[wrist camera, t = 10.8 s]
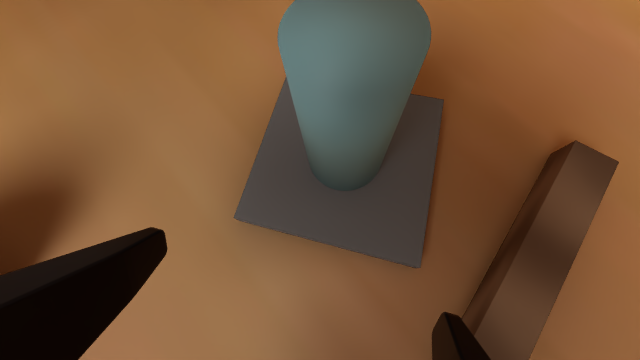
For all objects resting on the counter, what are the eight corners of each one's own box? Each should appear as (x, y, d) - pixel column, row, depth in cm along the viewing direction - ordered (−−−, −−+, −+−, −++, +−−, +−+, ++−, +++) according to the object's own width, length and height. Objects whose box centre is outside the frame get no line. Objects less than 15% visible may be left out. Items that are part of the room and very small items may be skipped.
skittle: (395, 171, 17) (463, 54, 8) (327, 203, 17) (315, 119, 8) (360, 114, 19) (381, -40, 10) (297, 142, 19) (256, 9, 9)
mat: (415, 267, 16) (420, 267, 15) (239, 220, 18) (233, 217, 17) (438, 107, 20) (443, 99, 19) (289, 81, 22) (287, 72, 21)
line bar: (478, 401, 14) (500, 421, 12) (435, 367, 15) (450, 381, 13) (588, 173, 18) (619, 161, 16) (551, 153, 18) (575, 140, 16)
